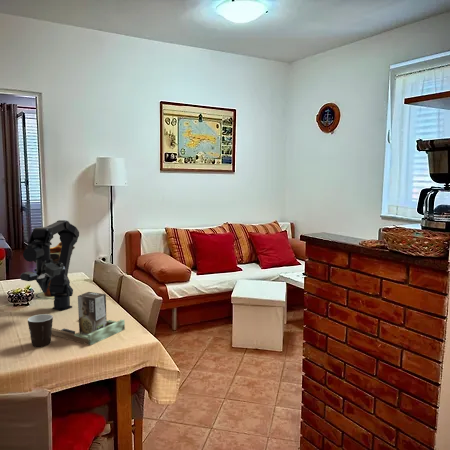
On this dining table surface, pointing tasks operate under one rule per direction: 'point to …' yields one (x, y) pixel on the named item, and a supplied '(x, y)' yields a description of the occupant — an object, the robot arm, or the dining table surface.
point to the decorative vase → (55, 256)
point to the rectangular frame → (92, 337)
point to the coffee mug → (40, 329)
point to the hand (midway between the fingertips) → (44, 292)
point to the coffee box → (91, 312)
